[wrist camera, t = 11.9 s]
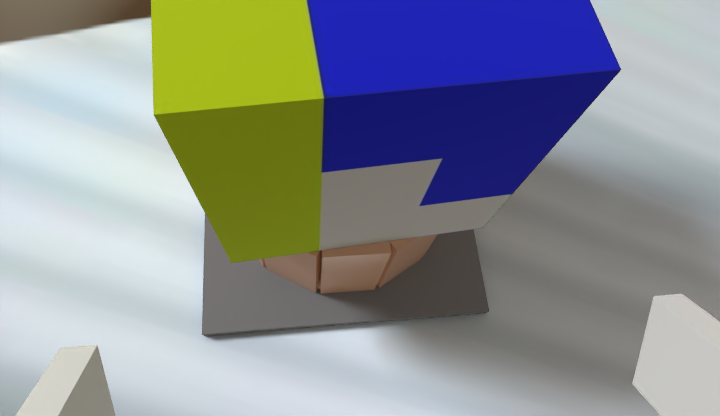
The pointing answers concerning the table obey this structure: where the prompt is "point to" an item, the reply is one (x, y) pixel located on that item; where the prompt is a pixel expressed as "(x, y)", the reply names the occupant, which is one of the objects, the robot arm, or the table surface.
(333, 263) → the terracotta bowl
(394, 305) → the rubber mat
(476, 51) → the puzzle toy
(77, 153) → the table surface
